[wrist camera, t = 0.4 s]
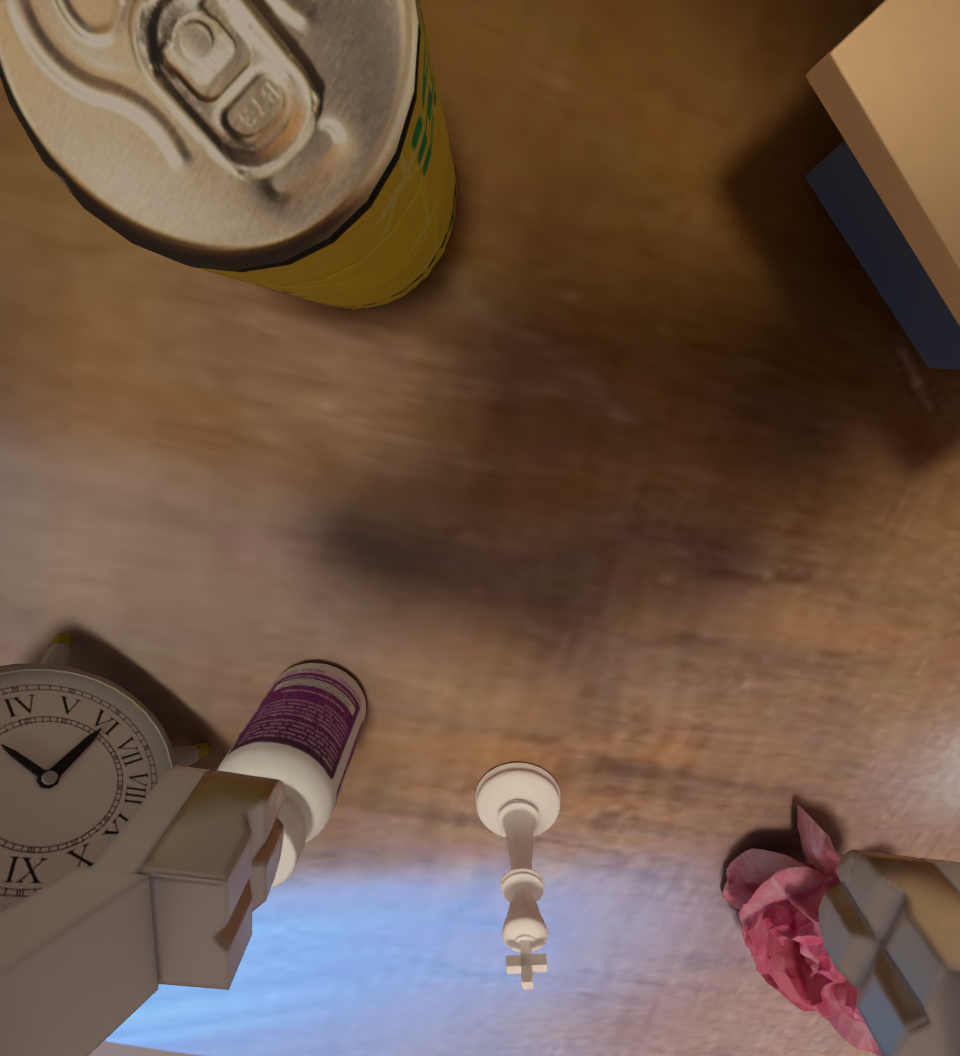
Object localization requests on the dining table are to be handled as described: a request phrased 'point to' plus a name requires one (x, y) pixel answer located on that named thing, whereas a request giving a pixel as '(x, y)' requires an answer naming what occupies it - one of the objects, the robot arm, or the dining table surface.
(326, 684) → the pill bottle
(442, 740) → the dining table surface
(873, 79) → the board box
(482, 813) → the chess piece
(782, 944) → the flower
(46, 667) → the alarm clock
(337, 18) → the beverage can
